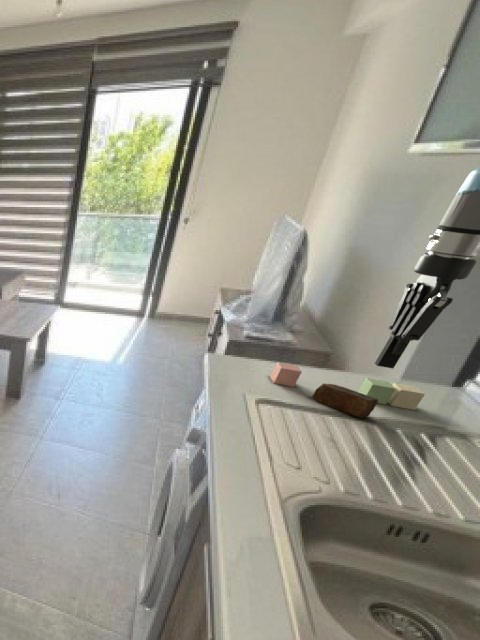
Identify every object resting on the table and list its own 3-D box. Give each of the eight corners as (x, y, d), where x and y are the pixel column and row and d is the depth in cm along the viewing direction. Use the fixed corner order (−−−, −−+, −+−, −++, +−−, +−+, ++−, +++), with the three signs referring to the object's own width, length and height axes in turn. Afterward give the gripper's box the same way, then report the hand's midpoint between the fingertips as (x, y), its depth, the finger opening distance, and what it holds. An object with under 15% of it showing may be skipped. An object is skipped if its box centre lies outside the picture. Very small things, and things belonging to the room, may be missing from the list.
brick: (369, 416, 114) (380, 399, 112) (360, 419, 112) (370, 401, 110) (319, 397, 122) (328, 380, 120) (310, 399, 121) (319, 382, 119)
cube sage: (385, 404, 120) (395, 388, 118) (363, 400, 122) (372, 384, 120) (378, 397, 124) (388, 381, 121) (356, 393, 125) (366, 377, 123)
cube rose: (294, 387, 127) (301, 371, 125) (273, 383, 129) (281, 368, 126) (289, 380, 131) (297, 365, 128) (270, 377, 132) (277, 362, 130)
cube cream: (414, 410, 118) (425, 394, 116) (391, 405, 120) (401, 389, 117) (406, 402, 122) (416, 386, 119) (383, 398, 123) (393, 382, 121)
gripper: (410, 247, 99) (351, 352, 111) (441, 258, 89) (373, 373, 100) (458, 252, 97) (393, 359, 108) (496, 264, 86) (420, 381, 98)
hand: (383, 365), depth 104 cm, fingers closed
